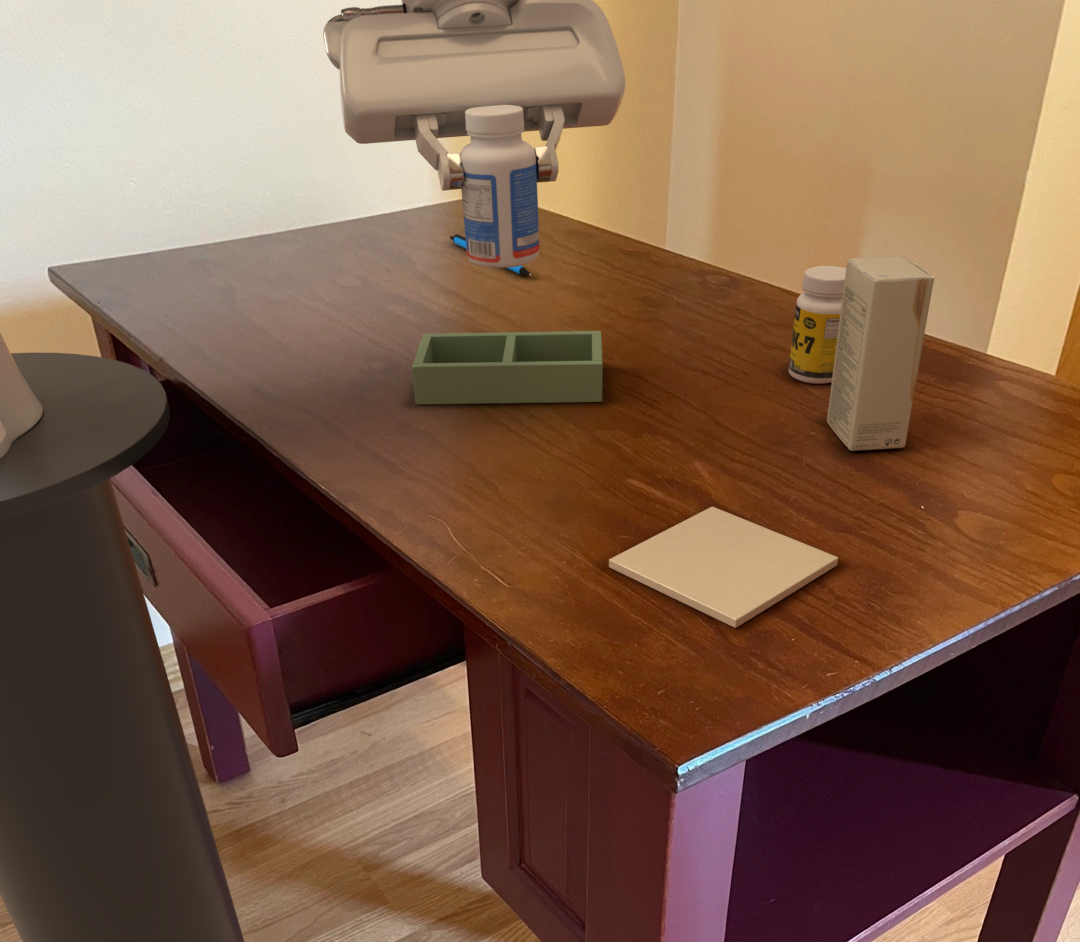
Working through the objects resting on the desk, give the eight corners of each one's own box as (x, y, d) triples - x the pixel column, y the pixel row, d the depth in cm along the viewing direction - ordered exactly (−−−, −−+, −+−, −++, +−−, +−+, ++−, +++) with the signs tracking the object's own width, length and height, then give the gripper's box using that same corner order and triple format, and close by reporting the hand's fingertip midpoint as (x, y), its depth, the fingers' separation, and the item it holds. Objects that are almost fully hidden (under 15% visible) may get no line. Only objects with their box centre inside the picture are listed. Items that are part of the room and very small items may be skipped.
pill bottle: (533, 246, 82) (528, 100, 76) (545, 266, 78) (542, 113, 72) (461, 252, 82) (451, 105, 76) (470, 272, 77) (460, 117, 71)
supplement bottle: (777, 369, 94) (789, 267, 89) (826, 362, 95) (840, 261, 90) (805, 388, 90) (818, 283, 85) (855, 380, 91) (871, 276, 86)
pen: (454, 240, 130) (454, 230, 129) (534, 278, 117) (534, 267, 116) (448, 242, 130) (447, 231, 129) (527, 279, 116) (526, 268, 116)
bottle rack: (602, 402, 89) (602, 363, 87) (415, 405, 89) (411, 366, 87) (600, 367, 95) (601, 330, 93) (426, 370, 96) (423, 333, 94)
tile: (735, 628, 62) (736, 619, 61) (608, 567, 67) (608, 559, 67) (837, 565, 67) (838, 557, 67) (711, 514, 73) (712, 505, 72)
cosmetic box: (906, 450, 80) (939, 278, 72) (848, 453, 80) (875, 281, 72) (878, 416, 85) (906, 252, 78) (823, 420, 85) (846, 255, 77)
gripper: (316, -26, 73) (353, 163, 71) (608, -40, 76) (648, 140, 75) (320, 45, 79) (353, 220, 77) (589, 29, 83) (627, 196, 81)
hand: (501, 181), depth 76 cm, fingers closed on pill bottle, 5 cm apart
